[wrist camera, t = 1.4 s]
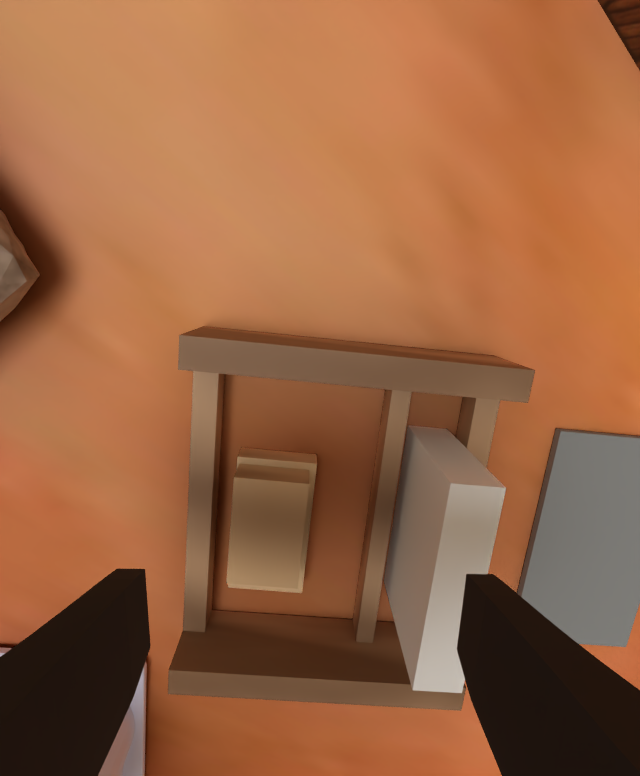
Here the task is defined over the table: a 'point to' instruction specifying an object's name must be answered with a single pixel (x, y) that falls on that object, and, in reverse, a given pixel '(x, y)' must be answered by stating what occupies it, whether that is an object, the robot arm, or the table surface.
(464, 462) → the panel
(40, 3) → the table surface
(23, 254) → the stone tablet
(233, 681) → the rack
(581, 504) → the mat
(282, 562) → the offcut stack
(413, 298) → the table surface
